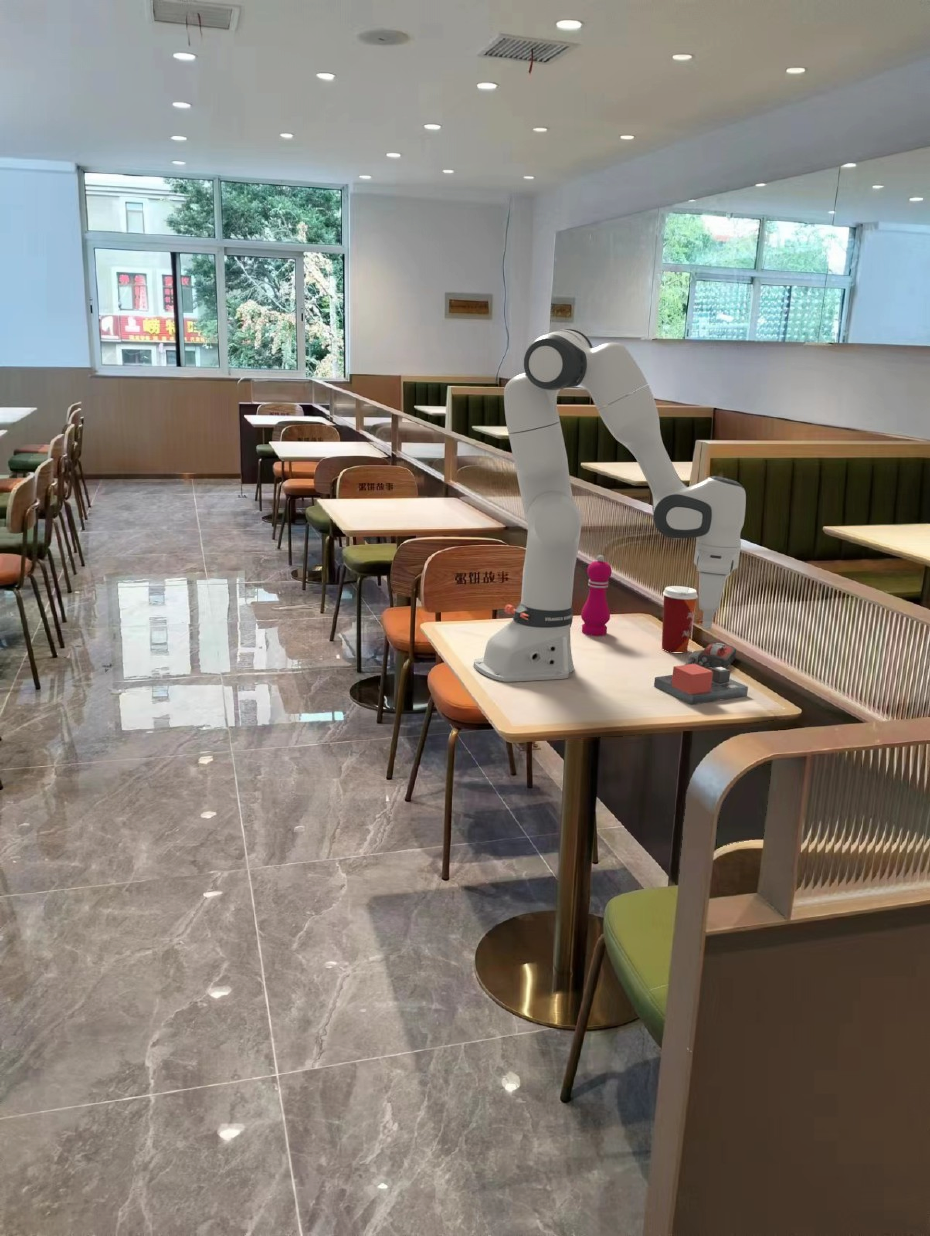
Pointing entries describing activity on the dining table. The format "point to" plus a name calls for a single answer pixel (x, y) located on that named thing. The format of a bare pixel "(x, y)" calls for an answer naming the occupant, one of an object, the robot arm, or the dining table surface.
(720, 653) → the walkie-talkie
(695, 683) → the cap
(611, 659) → the dining table surface
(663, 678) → the panel
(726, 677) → the block
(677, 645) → the coffee cup
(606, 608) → the pepper mill
